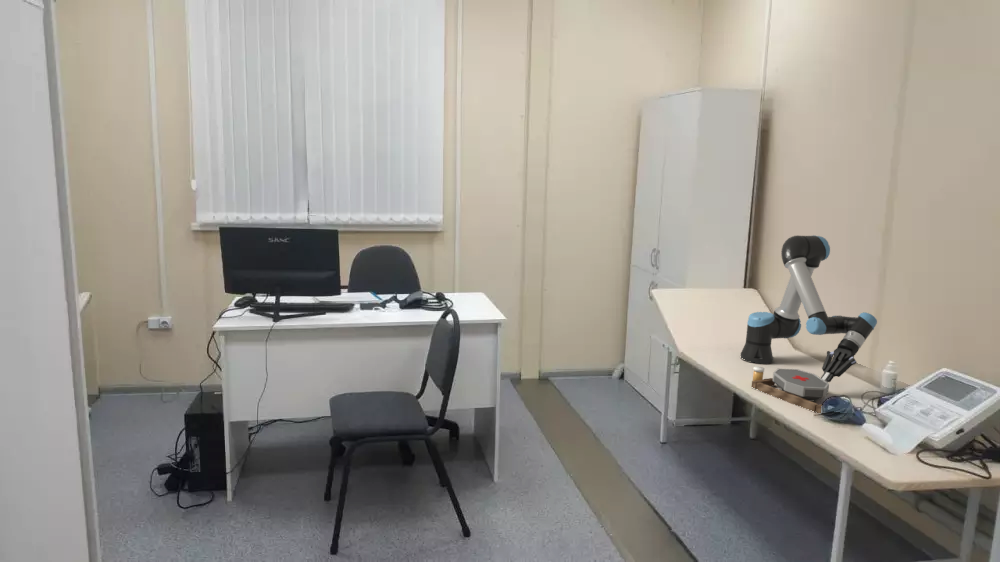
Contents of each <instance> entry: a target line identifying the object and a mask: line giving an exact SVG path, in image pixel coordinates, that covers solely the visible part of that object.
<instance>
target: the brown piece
mask: <svg viewBox="0 0 1000 562" xmlns="http://www.w3.org/2000/svg"><path fill="white" fill-rule="evenodd" d="M750 386H751V387H753V388H756V389H758V390H760V391H759V392H761V391H762V392H761V393H763V392H764V393H763V394H766V393H767V394H766V395H768V394H769V396H771V395H772V396H771V397H774V396H775V397H774V398H776V397H777V399H779V398H780V399H779V400H781V399H782V400H781V401H784V402H786V401H787V403H790V404H792V405H794V404H795V405H794V406H797V405H798V407H799V406H801V407H800V408H802V407H803V408H802V409H804V408H806V409H805V410H807V409H809V410H808V411H810V410H812V411H814V412H813V413H816V412H817V413H821V406H822V404H823V403H821V404H819V403H816V402H815V401H809V400H806V399H803V398H801V397H798V396H795V395H793V394H790V393H787V392H785V391H783V390H782V389H780V388H776V384H775V383H774V382H773V377H770V378H763V379H762V380H756V381H753V380H752V381H751V385H750ZM771 386H772V387H771ZM751 387H750V388H751ZM753 388H752V389H753ZM756 389H755V390H756ZM758 390H757V391H758ZM812 411H811V412H812ZM815 411H816V412H815ZM817 413H816V414H817Z"/></svg>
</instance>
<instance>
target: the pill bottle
mask: <svg viewBox="0 0 1000 562" xmlns="http://www.w3.org/2000/svg"><path fill="white" fill-rule="evenodd" d="M752 370H753V372H752V373H753V375H752V381H756V380H762V379H764V372H765V368H764V367H763V366H753V369H752Z"/></svg>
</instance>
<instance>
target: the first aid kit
mask: <svg viewBox="0 0 1000 562" xmlns="http://www.w3.org/2000/svg"><path fill="white" fill-rule="evenodd" d="M772 378H773V382H774V383H775V386H777V387H779V388H778V389H779V390H782V391H785V392H787V393H790V394H793V395H795V396H798V397H801V398H803V399H806V400H814V401H813V402H817V401H819V400H822V399H824V398H826V396H827V395H828V393H829V387H830V382H828V383H827V382H826V381H824V380H823V379H821V376H820V377H819V376H818V375H817V374H815V373H812V372H808V371H805V370H801V369H799V368H797V369H796V368H777V369H776V370H774V372H773V374H772Z"/></svg>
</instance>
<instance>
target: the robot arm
mask: <svg viewBox="0 0 1000 562" xmlns="http://www.w3.org/2000/svg"><path fill="white" fill-rule="evenodd" d="M830 254H831V247H830V244H829V241H828V240H827V239H826V238H825V237H823V236H820V235H814V234H813V235H793V236H789V238H787V239H786V240H785V241H784V243H783V245H782V246H781V261H782V263H783V266H784V267H785V268H786V269H788V272H789V274H790V277H789V279H788V282H787V286H786V287H785V290H784V294H783V296H782V299H781V302H780V304H779V306H778V307H776V308H775V309H774V312H773V313H772V312H769V311H768V312H767V311H757V312H752V313H751V314H749V316H748V319H747V322H746V323H747V327H746V337H745V343H744V346H743V348H742V350H741V352H740V356H741V358H743V359H745V360H747V361H751V362H755V363H754V364H757V363H761V364H760V365H769V363H770V364H772V362H774V355H773V351H772V339H773V340H774V339H775V340H776V339H791V338H794V337H796V336H797V335H798V334H799V333H800V331H801V330H802V329H801V328H802V324H801V319H800V314H799V310H800V307H801V305H802V306H803V309H804V311H805V313H806V316H807V317H808V318H807V320H806V322H805V325H806V326H805V328H806V331H807V332H808V333H809V334H810V335H818V336H822V335H834V334H835V335H836V334H845V335H844V336H843V338H842V339H841V340H840V341H839V343H838V344H837V347H836V348H835V349H833V351H830V350H828V351H827V350H826V356H825V359H824V362H823V365H822V367H821V370H822V371H823V374H822V375H821V376H820V378H821V379H823V380H824V381H826V382H827V383H831V382H832V381H833V379H834V378H835V377H837V378H840V377H841V376H842V375H843V374H844V373H846V372H847V371H848V370H849V369H850V368H851V367H852V366H854V365H856V364H857V360H856V359H855V356H856V354H857V353H858V351H859V350H860V349H861V347H862V346H863V345H864V344H865V342H866V340H867V338H868V337H869V336H870V334H871V333H872V331H874V329H875V327H876V326H877V324H878V319H877V318H876V317H875V316H874V315H873V314H871V313H869V312H860V313H859V315H857V317H856V316H855V317H854V316H853V317H852V316H844V315H832V316H828V314H827V311H826V309H825V307H824V305H823V302H822V300H821V297H820V295H819V293H818V290H817V288H816V285H815V283H814V281H813V279H812V275H813V273H814V271H815V269H819V267H820V265H821V262H823V261H825V260H827V259H828V258H829V255H830ZM740 356H739V357H740ZM741 358H740V359H741ZM747 361H746V362H747ZM751 362H750V363H751Z"/></svg>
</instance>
